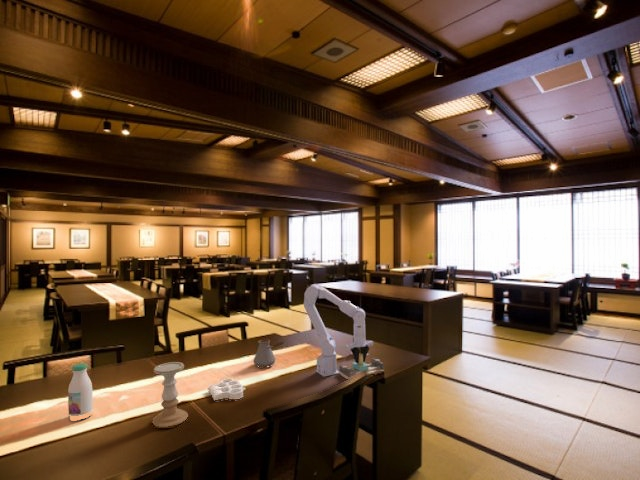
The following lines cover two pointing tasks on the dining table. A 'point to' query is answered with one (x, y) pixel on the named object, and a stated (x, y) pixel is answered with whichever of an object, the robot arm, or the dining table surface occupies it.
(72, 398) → the milk bottle
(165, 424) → the candle holder
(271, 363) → the coffee pot
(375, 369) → the rail bed
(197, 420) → the dining table surface
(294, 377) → the dining table surface
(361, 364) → the carriage
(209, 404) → the dining table surface
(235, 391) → the white flat scalloped piece
